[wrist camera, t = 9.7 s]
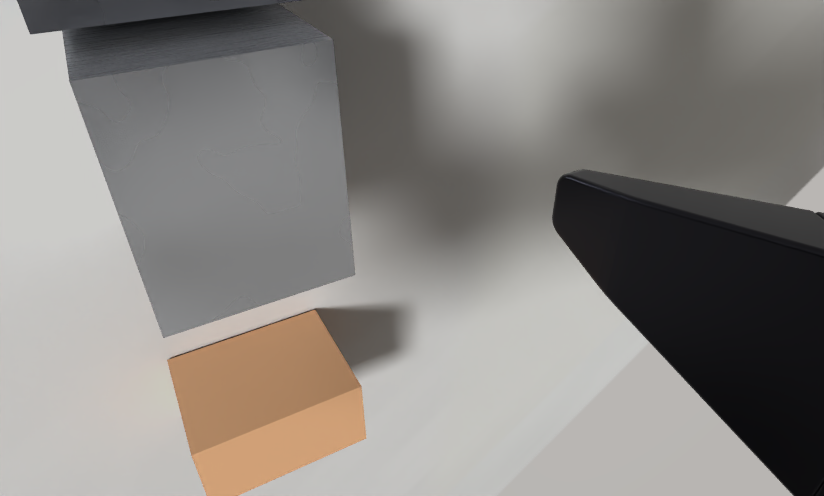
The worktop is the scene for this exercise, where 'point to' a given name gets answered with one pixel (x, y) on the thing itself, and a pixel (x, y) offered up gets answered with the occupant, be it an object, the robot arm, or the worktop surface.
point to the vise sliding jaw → (266, 403)
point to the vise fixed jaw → (117, 11)
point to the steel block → (219, 155)
